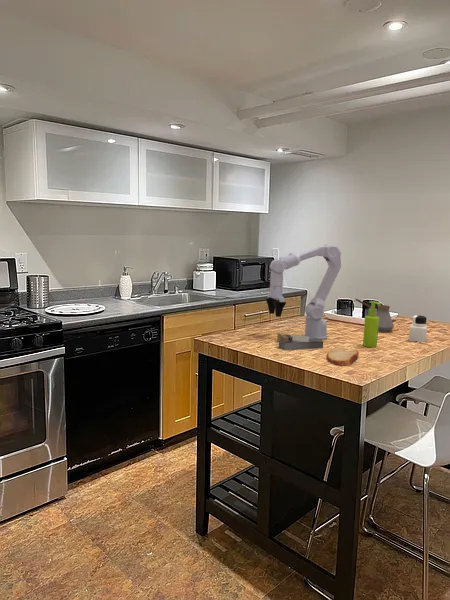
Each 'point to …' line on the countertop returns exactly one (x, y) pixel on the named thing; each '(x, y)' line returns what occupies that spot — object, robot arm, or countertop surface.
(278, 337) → the brushed gold cube
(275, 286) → the robot arm
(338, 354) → the bread slice
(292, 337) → the steel lever
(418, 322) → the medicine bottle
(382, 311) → the coffee pot
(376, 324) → the soap dispenser
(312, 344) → the grey piece
